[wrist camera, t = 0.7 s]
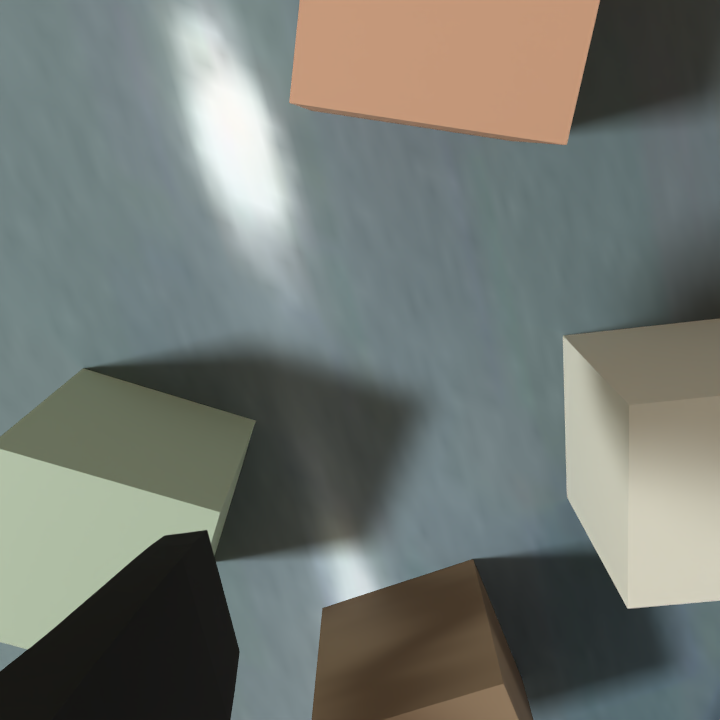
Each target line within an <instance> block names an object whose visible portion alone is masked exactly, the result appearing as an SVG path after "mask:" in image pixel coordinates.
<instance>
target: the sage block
mask: <svg viewBox="0 0 720 720" xmlns="http://www.w3.org/2000/svg"><path fill="white" fill-rule="evenodd" d="M255 422H256V421H255V420H252V419H248V418H245V417H242V416H239V415H235V414H232V413H229V412H225V411H222V410H219V409H215V408H212V407H209V406H206V405H202V404H199V403H196V402H192V401H189V400H186V399H183V398H179V397H176V396H173V395H169V394H166V393H163V392H159V391H156V390H153V389H150V388H146V387H143V386H140V385H136V384H133V383H130V382H126V381H123V380H120V379H117V378H113V377H110V376H107V375H103V374H100V373H97V372H94V371H90V370H87V369H84V368H83V369H82V370H81V371H79V372H78V373H77V374H76V375H74V376H73V377H72V378H71V379H70V380H68V381H67V382H66V383H65V384H64V385H62V386H61V387H60V388H59V389H58V390H56V391H55V392H54V393H53V394H51V395H50V396H49V397H48V398H47V399H45V400H44V401H43V402H42V403H41V404H39V405H38V406H37V407H36V408H34V409H33V410H32V411H31V412H30V413H28V414H27V415H26V416H25V417H24V418H22V419H21V420H20V421H19V422H18V423H16V424H15V425H14V426H13V427H11V428H10V429H9V430H8V431H7V432H5V433H4V434H3V435H2V436H1V437H0V642H2V643H6V644H10V645H13V646H17V647H21V648H25V649H29V648H30V647H31V646H33V645H34V644H35V643H36V642H38V641H39V640H40V639H41V638H43V637H44V636H45V635H46V634H48V633H49V632H50V631H51V630H52V629H54V628H55V627H56V626H57V625H58V624H59V623H60V622H62V621H63V620H64V619H65V618H66V617H67V616H69V615H70V614H71V613H72V612H73V611H74V610H76V609H77V608H78V607H79V606H80V605H81V604H83V603H84V602H85V601H86V600H87V599H88V598H90V597H91V596H92V595H93V594H94V593H95V592H96V591H98V590H99V589H100V588H101V587H102V586H103V585H105V584H106V583H107V582H108V581H109V580H110V579H111V578H113V577H114V576H115V575H116V574H117V573H118V572H120V571H121V570H122V569H123V568H124V567H125V566H126V565H128V564H129V563H130V562H131V561H132V560H134V559H135V558H136V557H137V556H138V555H139V554H141V553H142V552H143V551H144V550H146V549H147V548H148V547H149V546H151V545H152V544H153V543H155V542H156V541H157V540H159V539H160V538H162V537H163V536H165V535H172V534H180V533H188V532H195V531H203V530H207V531H208V535H209V538H210V542H211V546H212V550H213V553H214V556H215V553H216V550H217V547H218V543H219V540H220V537H221V533H222V530H223V527H224V524H225V520H226V517H227V514H228V510H229V507H230V504H231V501H232V497H233V494H234V491H235V487H236V484H237V481H238V478H239V474H240V471H241V468H242V464H243V461H244V458H245V455H246V451H247V448H248V445H249V441H250V438H251V435H252V432H253V428H254V425H255Z"/></svg>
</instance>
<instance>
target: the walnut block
mask: <svg viewBox="0 0 720 720" xmlns="http://www.w3.org/2000/svg"><path fill="white" fill-rule="evenodd" d="M312 720H533V716H532V713H531V709H530V706H529V702H528V699H527V695H526V692H525V688H524V684H523V681H522V678H521V676H520V673H519V671H518V668H517V666H516V663H515V661H514V659H513V656H512V654H511V651H510V649H509V646H508V644H507V641H506V639H505V636H504V634H503V631H502V629H501V626H500V624H499V622H498V619H497V617H496V614H495V612H494V609H493V607H492V604H491V602H490V599H489V597H488V594H487V592H486V590H485V587H484V585H483V582H482V580H481V577H480V575H479V572H478V570H477V567H476V565H475V562H474V560H473V559H472V560H469V561H465V562H462V563H459V564H456V565H453V566H450V567H447V568H444V569H441V570H438V571H435V572H432V573H429V574H426V575H423V576H420V577H416V578H413V579H410V580H407V581H404V582H401V583H398V584H395V585H392V586H389V587H386V588H383V589H380V590H377V591H374V592H370V593H367V594H364V595H361V596H358V597H355V598H352V599H349V600H346V601H343V602H340V603H337V604H334V605H331V606H328V607H324V608H323V609H322V619H321V630H320V640H319V650H318V661H317V671H316V681H315V692H314V702H313V712H312Z"/></svg>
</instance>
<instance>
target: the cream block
mask: <svg viewBox="0 0 720 720" xmlns="http://www.w3.org/2000/svg"><path fill="white" fill-rule="evenodd" d="M563 359H564V398H565V437H566V477H567V498H568V500H569V502H570V503H571V505H572V507H573V509H574V511H575V513H576V515H577V516H578V518H579V520H580V522H581V524H582V526H583V527H584V529H585V531H586V533H587V535H588V537H589V538H590V540H591V542H592V544H593V546H594V548H595V550H596V551H597V553H598V555H599V557H600V559H601V561H602V562H603V564H604V566H605V568H606V570H607V572H608V573H609V575H610V577H611V579H612V581H613V583H614V585H615V586H616V588H617V590H618V592H619V594H620V596H621V597H622V599H623V601H624V603H625V605H626V607H627V608H628V609H630V608H641V607H652V606H663V605H675V604H686V603H697V602H708V601H719V600H720V318H719V319H710V320H701V321H692V322H683V323H674V324H665V325H655V326H646V327H637V328H628V329H619V330H610V331H601V332H592V333H583V334H574V335H564V336H563Z"/></svg>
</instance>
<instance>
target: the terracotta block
mask: <svg viewBox="0 0 720 720" xmlns="http://www.w3.org/2000/svg"><path fill="white" fill-rule="evenodd" d="M599 3H600V0H300V4H299V14H298V24H297V33H296V43H295V53H294V63H293V73H292V82H291V92H290V102H289V103H291V104H294V105H297V106H300V107H303V108H306V109H309V110H312V111H318V112H324V113H331V114H337V115H344V116H351V117H357V118H364V119H370V120H377V121H384V122H390V123H397V124H403V125H410V126H417V127H423V128H430V129H436V130H443V131H449V132H456V133H463V134H469V135H476V136H482V137H489V138H496V139H502V140H509V141H519V142H533V143H547V144H560V145H567V141H568V137H569V133H570V128H571V124H572V120H573V115H574V111H575V107H576V102H577V98H578V94H579V89H580V85H581V81H582V76H583V72H584V68H585V63H586V59H587V55H588V50H589V46H590V42H591V37H592V33H593V29H594V24H595V20H596V16H597V11H598V7H599Z"/></svg>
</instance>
